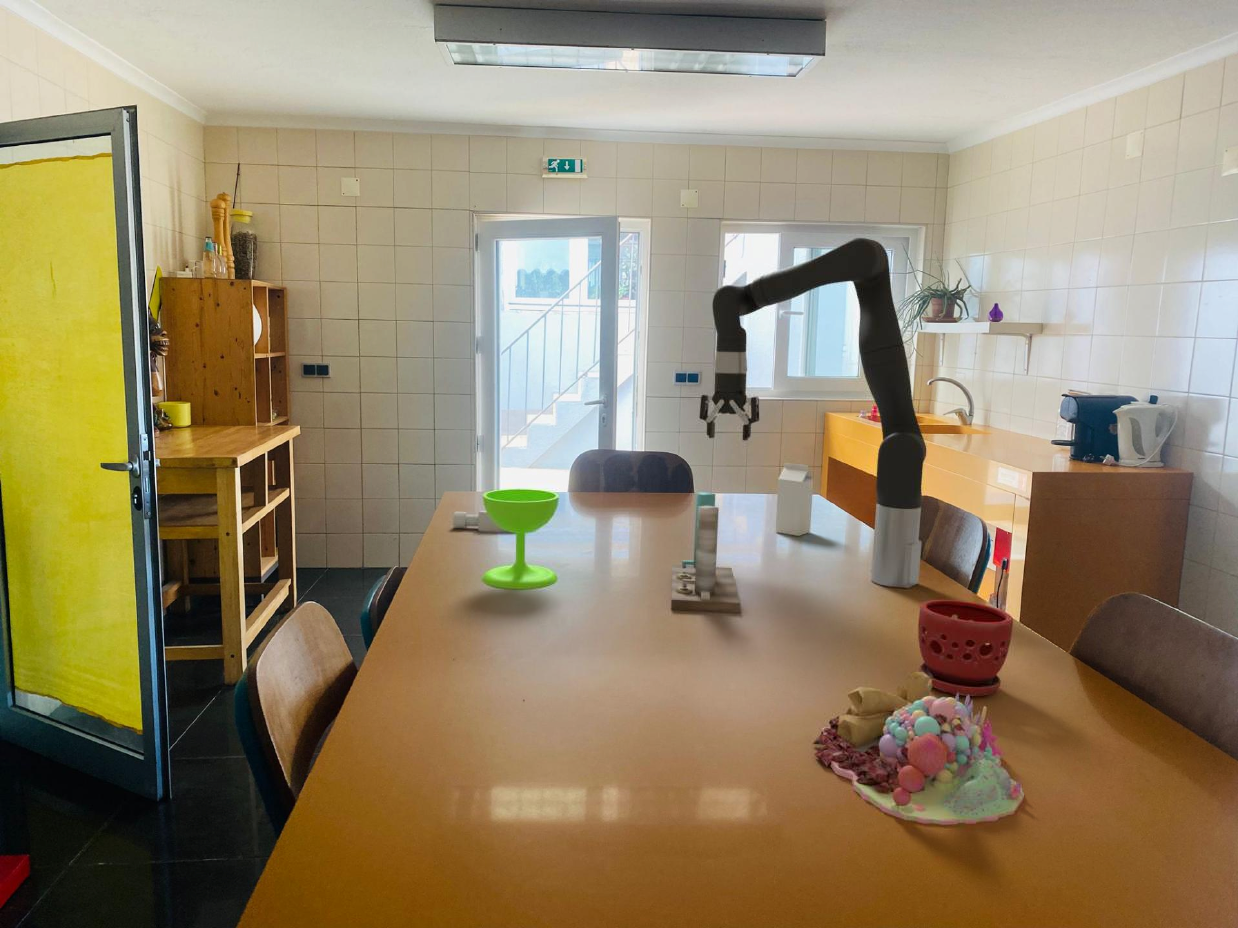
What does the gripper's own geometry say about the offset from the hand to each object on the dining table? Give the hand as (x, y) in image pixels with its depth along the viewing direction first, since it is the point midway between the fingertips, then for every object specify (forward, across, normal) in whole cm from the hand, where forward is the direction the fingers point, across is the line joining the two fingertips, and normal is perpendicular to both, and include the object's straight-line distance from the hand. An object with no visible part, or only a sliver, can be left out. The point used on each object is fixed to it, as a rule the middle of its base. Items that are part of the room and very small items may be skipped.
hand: (728, 439), depth 206 cm
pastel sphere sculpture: (+29, +57, -90) cm, 111 cm away
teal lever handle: (+25, +3, -27) cm, 37 cm away
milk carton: (+29, +8, +34) cm, 45 cm away
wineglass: (+28, -30, -45) cm, 61 cm away
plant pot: (+29, +59, -60) cm, 89 cm away
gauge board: (+28, +7, -34) cm, 45 cm away
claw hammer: (+28, -67, +3) cm, 73 cm away
